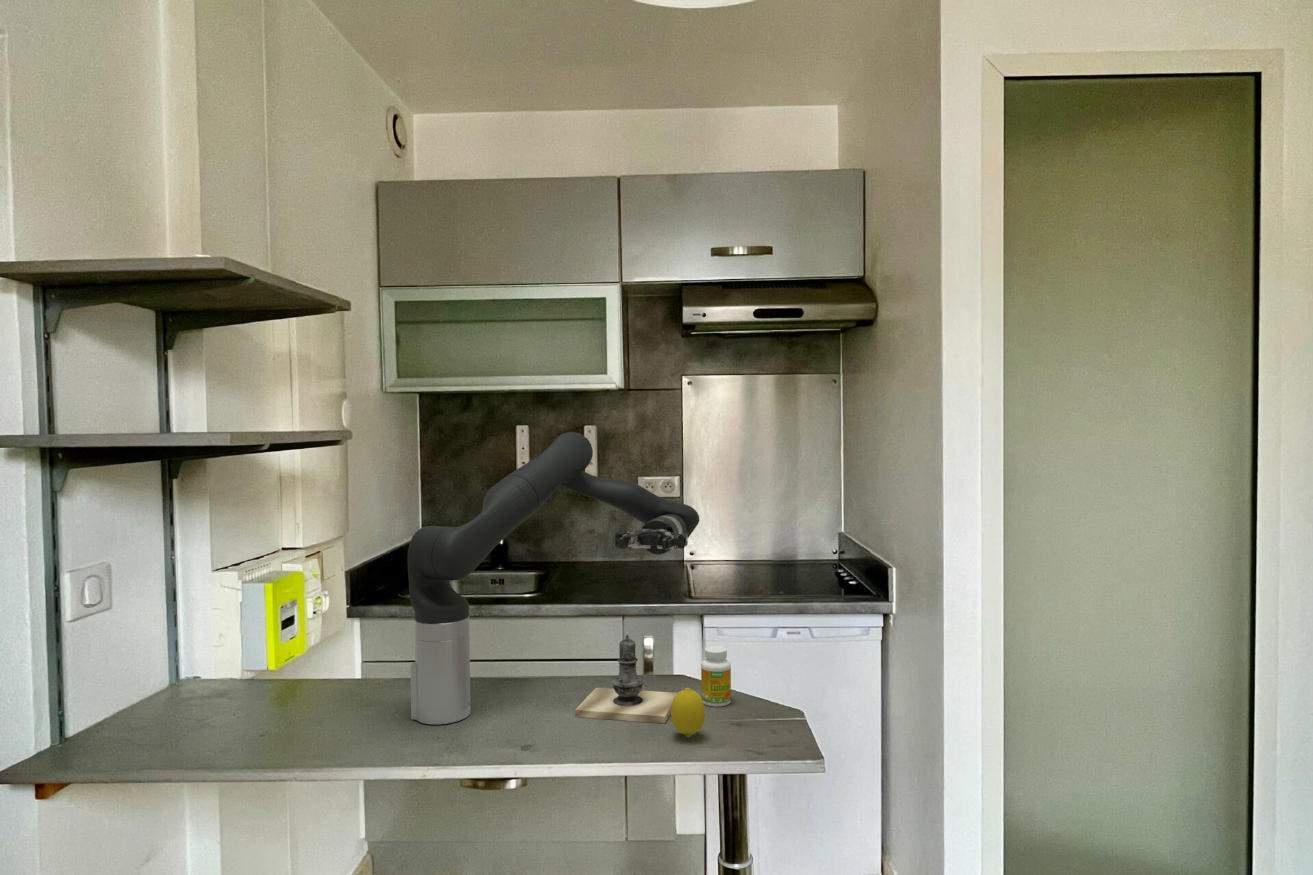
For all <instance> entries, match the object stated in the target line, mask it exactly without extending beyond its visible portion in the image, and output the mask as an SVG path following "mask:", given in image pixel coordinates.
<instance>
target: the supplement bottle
mask: <svg viewBox="0 0 1313 875" xmlns="http://www.w3.org/2000/svg"><path fill="white" fill-rule="evenodd" d="M727 655H728V653H727V648H725V647H723V646H717V645H715V646H711V645H710V646H708V647H705V648H704V657H705V659H704V660H702V662H701V664H700V665H701V667H700V671H701V672H700V674H701V676H700V680H701V682H700V683H701V686H700V687H701V688H700V689H701V698H702V700H703V703H704V706H705V705H706V706H708V707H714V708H719V707H720V708H721V707H725V706H728V705H730V703H731V702H732V679H731V678H732V673H731V671H732V668H731V662H730V661H729V660H728V659H727V657H728V656H727Z"/></svg>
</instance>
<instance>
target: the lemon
mask: <svg viewBox="0 0 1313 875" xmlns="http://www.w3.org/2000/svg"><path fill="white" fill-rule="evenodd" d="M677 693H678V694H677V695H676V696H675V697H674V699H673V702H672V707H671V714H670V718H671V723H672V725H673V727H674V728H675V729H676V731H677V732H679V733H680V734H683V735H684V736H685V738H691V737H692V736H693V735H694V734H696V733H698V732H699V731H700V730H701V729H702V727H703V726H704V723H705V720H706V708H705V704H704V703H703V700H702V695H700V694H699V693H698V692H697V691H695V690H693V689H691V688H690V687H686V688H684V689H682V690H680V691H678V692H677Z"/></svg>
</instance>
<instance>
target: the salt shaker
mask: <svg viewBox="0 0 1313 875" xmlns="http://www.w3.org/2000/svg"><path fill="white" fill-rule="evenodd" d="M629 637H630V636H629V635H628V633H627V634H626V635H625V638H624V639H622V640H621V641H620V642H619V658H617V663H618V665H619V666H618V667H619V668H618V676H617V677H615V678H613V679H611V684H612V685H613V686H612V687H613V689H614V690H615V692H616V693H617V694H618V695H619V696H618V697H616V698H615V699H614V700H613V702H614V703H615V704H617V705H620V706H634V705H638V704H640V703H642V702H643V699H642V698H641V697H639V696H638V694H639V693H640V691H642V688H643V684H644V683H645V680H644V678H642V677H640V676H638V674H637V673H638V672H637V662H638V658H636V642H635V641H634V640H633V639H631V638H629Z"/></svg>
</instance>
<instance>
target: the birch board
mask: <svg viewBox="0 0 1313 875" xmlns="http://www.w3.org/2000/svg"><path fill="white" fill-rule="evenodd" d="M678 693H679V692H670V691H669V692H667V691H653V690H641V691H640V693H639V694H638V696H639V697H641V698H642V699H643V702H642V703H640V704H638V705H634V706H620V705H617V704H615V703H614V702H613V700H614V699H615V698H616V697H618V696H619V695H618V694H617V693H616V692H615V690H614V688H610V687H609V688H606V687H595V688H594V689H593V690H592V691H591V692H590V693H589V694H588V695H587V697H586V698H585V699H584V700H582V702H581V703H580V704H579V705H578V706H577V707H576V708H575V710H574V714H575V715H574V717H576V718H585V719H586V718H587V719H601V720H614V721H615V720H616V721H625V722H626V721H627V722H628V721H629V722H639V723H640V722H641V723H654V724H666V722H667V721H668V719H669V717H670V716H671V707H672V702H673V699H674V697H675V696H676V695H677V694H678Z"/></svg>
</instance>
